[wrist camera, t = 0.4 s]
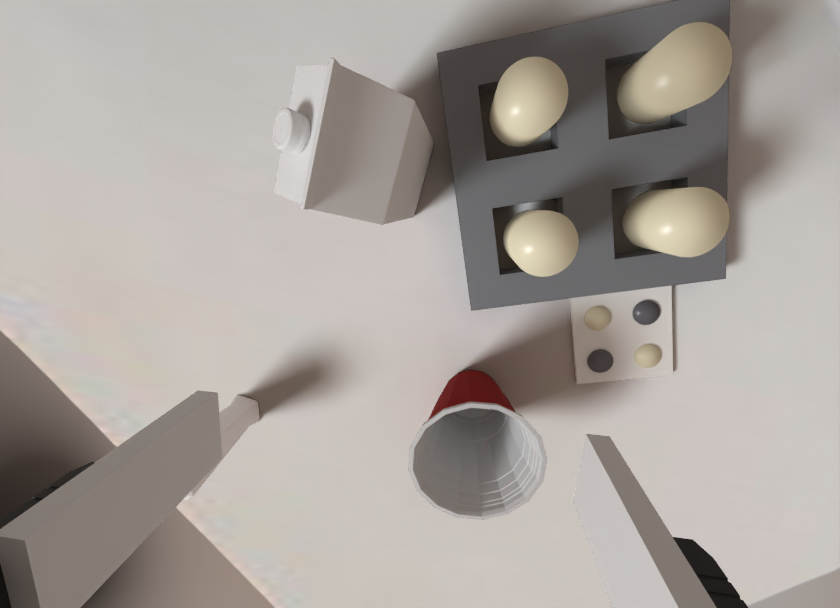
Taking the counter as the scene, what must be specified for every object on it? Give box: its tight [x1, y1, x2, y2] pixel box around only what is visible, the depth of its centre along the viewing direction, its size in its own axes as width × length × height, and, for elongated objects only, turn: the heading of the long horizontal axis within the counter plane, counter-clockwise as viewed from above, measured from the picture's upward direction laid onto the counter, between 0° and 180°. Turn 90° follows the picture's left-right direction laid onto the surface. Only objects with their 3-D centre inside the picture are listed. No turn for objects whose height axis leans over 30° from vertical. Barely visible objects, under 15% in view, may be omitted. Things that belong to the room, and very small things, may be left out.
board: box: [437, 0, 730, 311], centre depth 35 cm, size 22×22×2 cm
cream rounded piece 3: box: [503, 210, 579, 277], centre depth 32 cm, size 5×5×6 cm
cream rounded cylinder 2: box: [617, 22, 732, 124], centre depth 28 cm, size 5×5×6 cm
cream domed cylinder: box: [623, 187, 730, 257], centre depth 30 cm, size 5×5×6 cm
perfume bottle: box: [183, 395, 260, 500], centre depth 38 cm, size 5×4×15 cm
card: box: [569, 286, 673, 384], centre depth 39 cm, size 9×9×1 cm
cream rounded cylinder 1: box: [490, 57, 568, 147], centre depth 30 cm, size 5×5×6 cm
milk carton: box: [273, 57, 434, 225], centre depth 28 cm, size 7×7×19 cm
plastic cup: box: [408, 370, 547, 520], centre depth 36 cm, size 11×11×12 cm
